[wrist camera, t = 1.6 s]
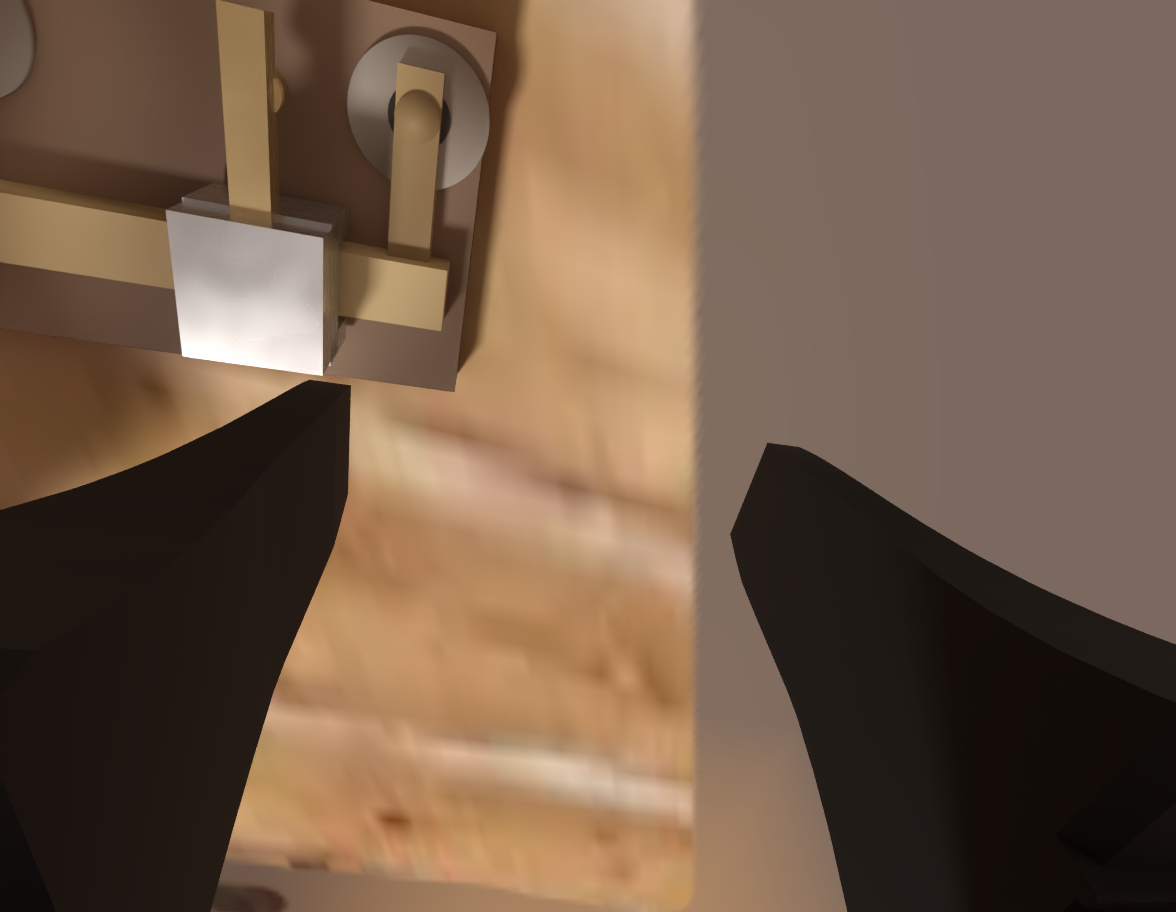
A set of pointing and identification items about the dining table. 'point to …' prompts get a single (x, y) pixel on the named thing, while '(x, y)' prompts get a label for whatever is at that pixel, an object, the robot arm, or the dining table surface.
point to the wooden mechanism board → (198, 158)
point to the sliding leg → (255, 229)
